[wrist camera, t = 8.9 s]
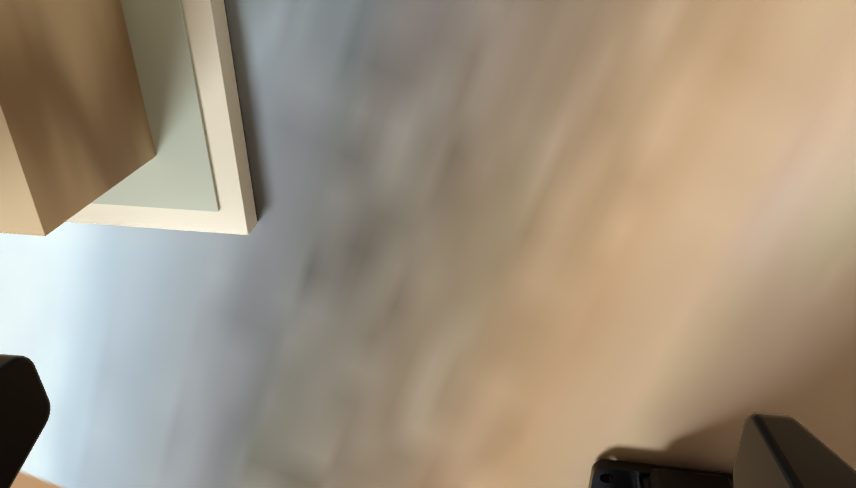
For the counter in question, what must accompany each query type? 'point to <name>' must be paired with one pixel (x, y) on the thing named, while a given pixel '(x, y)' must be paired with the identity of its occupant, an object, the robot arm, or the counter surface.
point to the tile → (184, 125)
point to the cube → (65, 110)
